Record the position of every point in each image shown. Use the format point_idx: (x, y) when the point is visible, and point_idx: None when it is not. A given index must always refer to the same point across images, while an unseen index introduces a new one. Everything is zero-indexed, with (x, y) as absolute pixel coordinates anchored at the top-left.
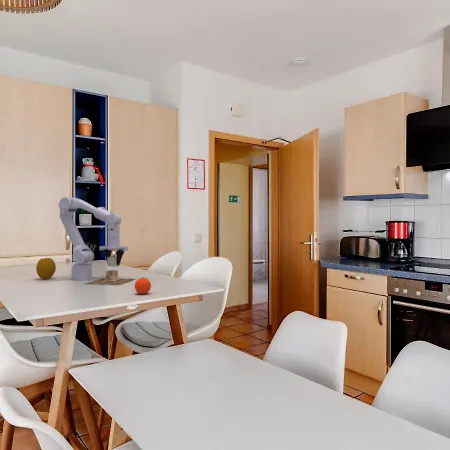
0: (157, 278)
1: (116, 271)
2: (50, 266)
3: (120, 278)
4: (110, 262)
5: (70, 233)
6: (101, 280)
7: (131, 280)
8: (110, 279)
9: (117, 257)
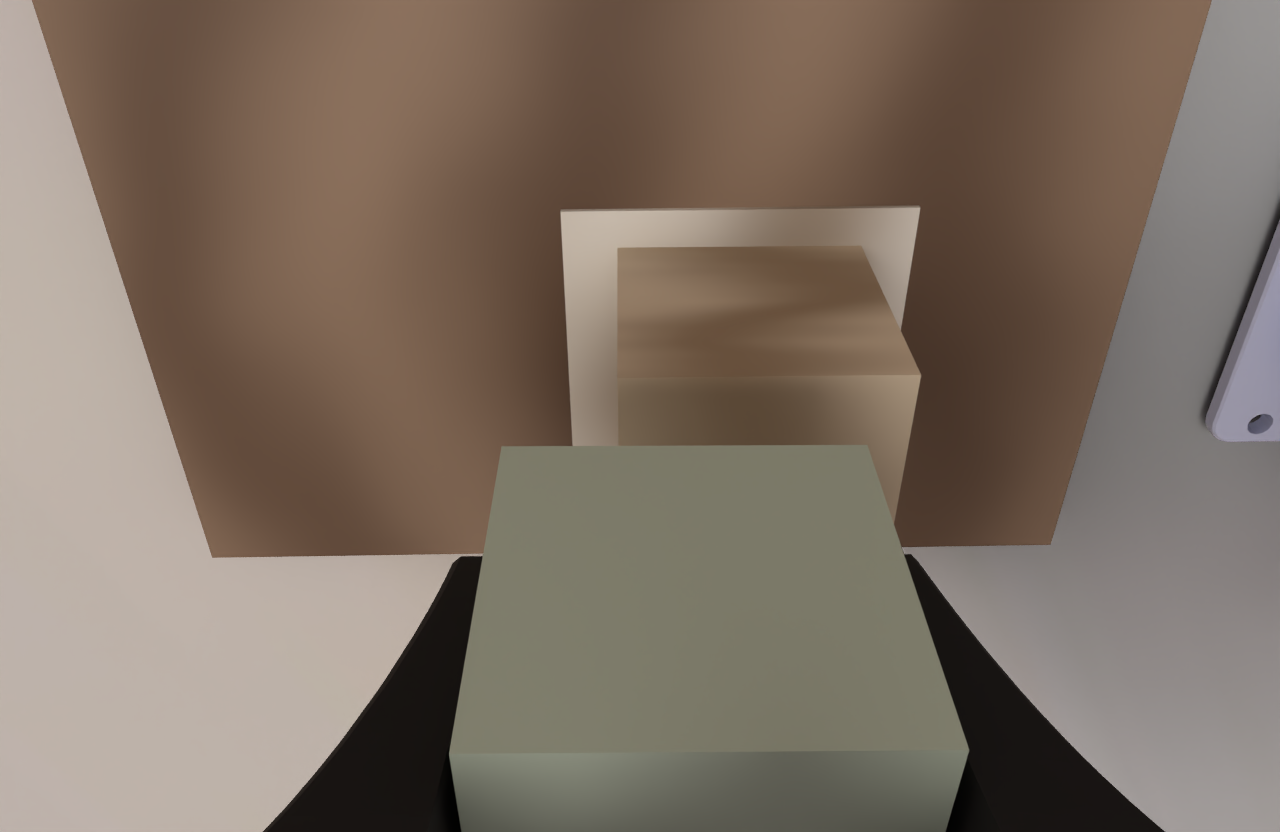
0: (57, 794)
1: None
2: None
3: None
4: (753, 554)
5: None
6: (970, 211)
7: (191, 354)
8: (720, 258)
9: (379, 791)
